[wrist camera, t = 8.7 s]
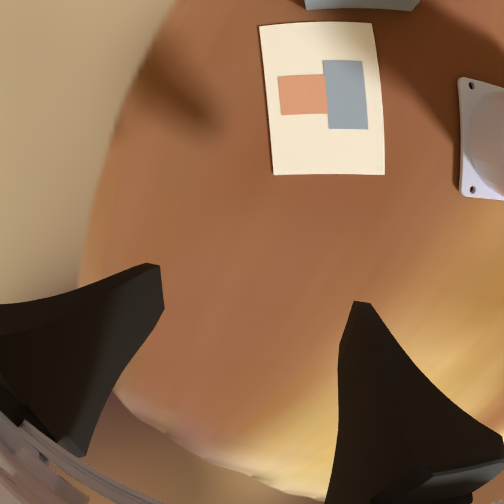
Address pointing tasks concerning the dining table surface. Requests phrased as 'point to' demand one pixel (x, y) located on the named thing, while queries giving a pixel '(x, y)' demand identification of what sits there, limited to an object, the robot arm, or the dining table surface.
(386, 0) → the base brick
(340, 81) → the page
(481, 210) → the dining table surface
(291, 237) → the dining table surface
